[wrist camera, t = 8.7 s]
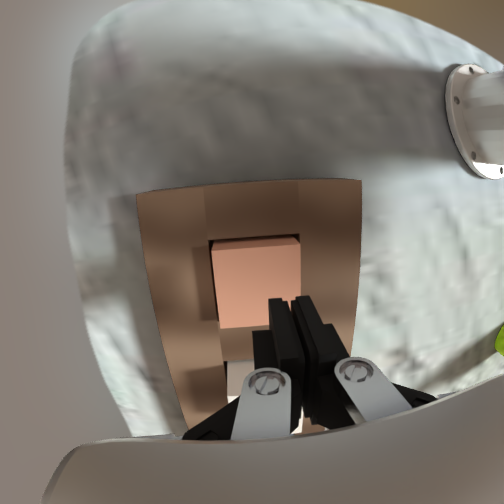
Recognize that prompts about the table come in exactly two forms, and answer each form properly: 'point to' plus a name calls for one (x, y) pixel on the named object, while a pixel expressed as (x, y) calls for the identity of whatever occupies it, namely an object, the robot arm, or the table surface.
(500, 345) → the soap dispenser
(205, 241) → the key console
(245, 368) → the ivory key
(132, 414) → the table surface
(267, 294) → the terracotta key
